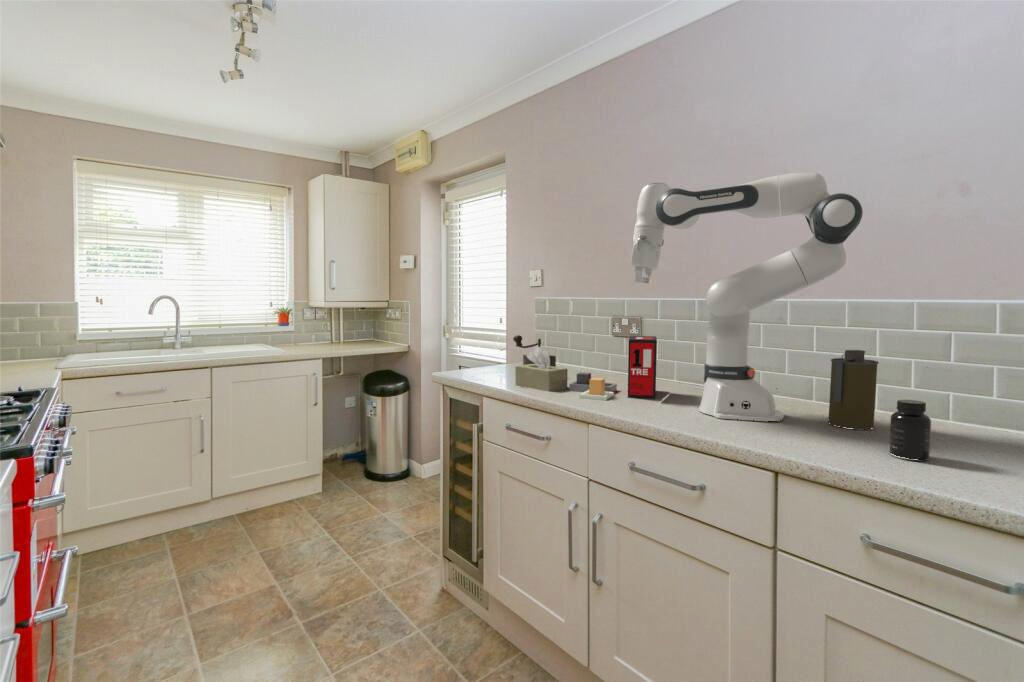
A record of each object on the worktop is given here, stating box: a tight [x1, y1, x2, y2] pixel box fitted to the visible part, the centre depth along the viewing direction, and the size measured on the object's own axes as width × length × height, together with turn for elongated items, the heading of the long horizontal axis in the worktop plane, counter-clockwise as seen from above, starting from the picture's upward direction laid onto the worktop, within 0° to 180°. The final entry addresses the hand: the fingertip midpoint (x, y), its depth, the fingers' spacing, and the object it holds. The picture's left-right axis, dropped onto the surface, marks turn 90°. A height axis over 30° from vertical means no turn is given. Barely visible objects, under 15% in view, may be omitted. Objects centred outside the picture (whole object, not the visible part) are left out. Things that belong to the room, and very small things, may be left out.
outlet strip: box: [568, 380, 618, 393], centre depth 183 cm, size 15×8×3 cm, turn 62°
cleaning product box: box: [627, 335, 658, 400], centre depth 177 cm, size 16×9×20 cm, turn 165°
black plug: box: [576, 371, 592, 385], centre depth 185 cm, size 4×4×6 cm
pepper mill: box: [512, 334, 557, 367], centre depth 216 cm, size 16×11×18 cm
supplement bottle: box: [888, 399, 932, 461], centre depth 109 cm, size 7×7×12 cm
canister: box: [827, 349, 880, 429], centre depth 135 cm, size 11×10×20 cm
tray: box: [579, 390, 615, 401], centre depth 172 cm, size 9×9×2 cm
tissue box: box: [515, 346, 568, 392], centre depth 191 cm, size 19×10×16 cm, turn 41°
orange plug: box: [589, 377, 606, 396], centre depth 172 cm, size 4×4×6 cm
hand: (641, 282), depth 160 cm, fingers open, 8 cm apart
